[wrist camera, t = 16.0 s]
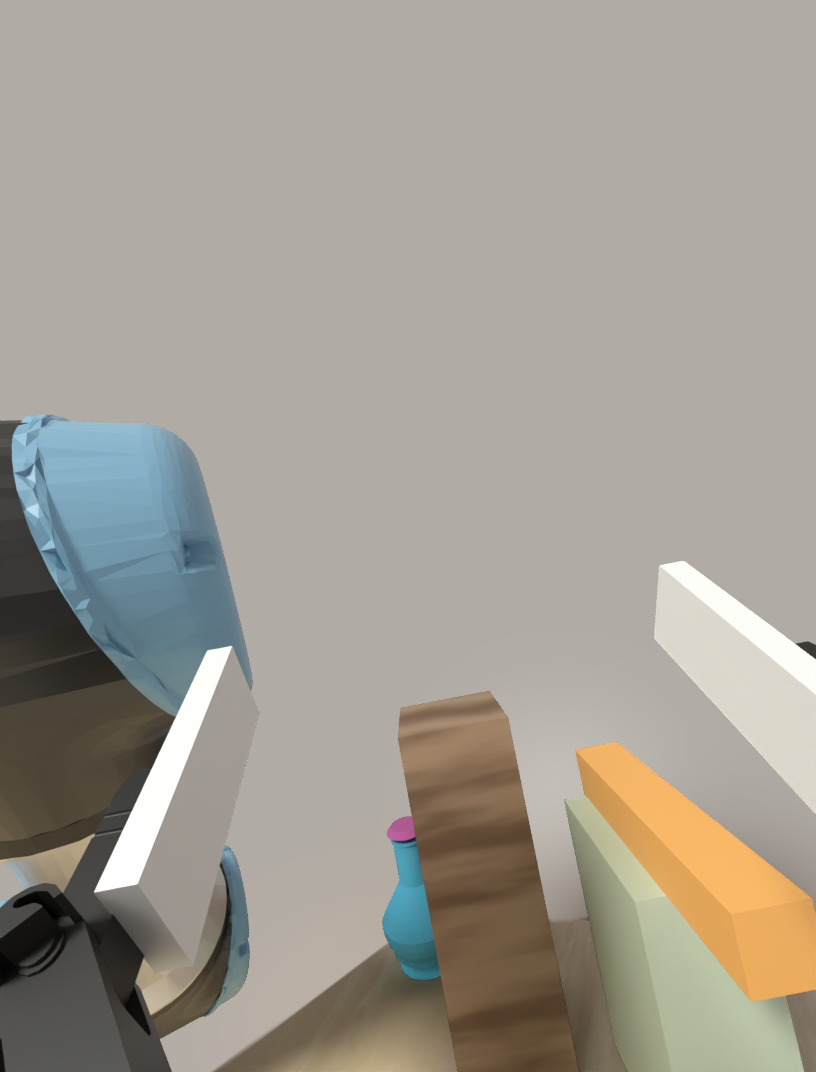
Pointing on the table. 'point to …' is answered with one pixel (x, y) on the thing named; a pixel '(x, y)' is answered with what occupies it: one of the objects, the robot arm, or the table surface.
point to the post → (484, 888)
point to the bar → (708, 876)
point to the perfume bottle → (410, 908)
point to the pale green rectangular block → (667, 971)
